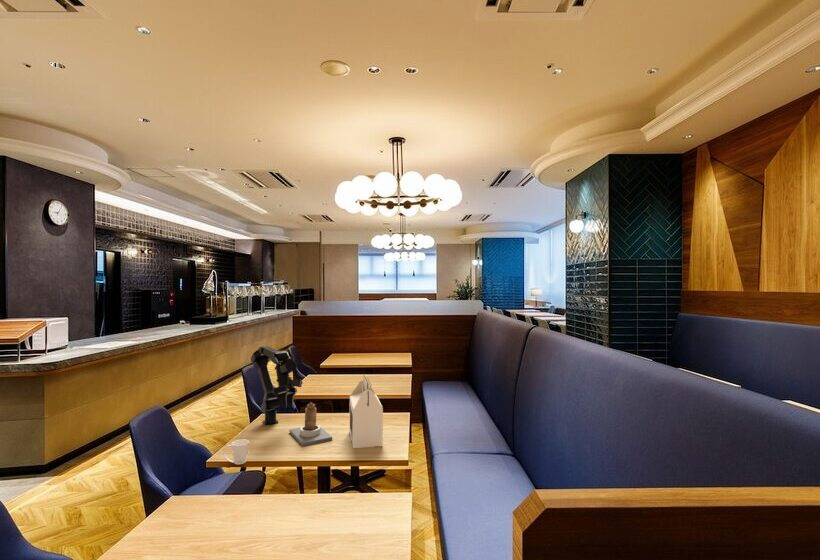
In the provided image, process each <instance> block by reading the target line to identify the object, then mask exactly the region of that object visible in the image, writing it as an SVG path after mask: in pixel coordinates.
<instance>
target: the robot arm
mask: <svg viewBox="0 0 820 560" xmlns="http://www.w3.org/2000/svg"><path fill="white" fill-rule="evenodd" d="M269 359H270V360H271V363H273V364H274V365H275V367H274V370H275V371H276V372H275V373H276V379H275V380H276V382H277V385H278V386H277V387H274V386H273V382H272V380H271V377H270V372H269V369H268V363H269ZM250 362H251V363H252V365H253V367H254V368H255V369H256V370H257V372H258V375H259V378H260V383H261V386H262V390H263V393H264V396H263V399H262V404H261V405H260V412H262V413H264V420H262V423H264V425H266V426H267V425H268V426H269V425H273V424H278V423H279V421H278V420H277V411H280V410H281V407H283V409H287V407H289V409H292V408H293V407H294V406H293V404H294V397H295V395H296V394H297V393H298V390H297V388H302V385H303V380H302V379H301V378H296V379H292V377H291V376H290V373H292V372H295V370H296V369H297V363H296V361H294V360H293V359H292V358H291V356H290V355H289V353H288V352H287V351H286V350H277V349H275V348H272V347H270V346H269V345H264V346H262V345H261V346H260V347H258V349H256V350H255V351H254V352H253V353H252V355H251V357H250Z"/></svg>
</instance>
